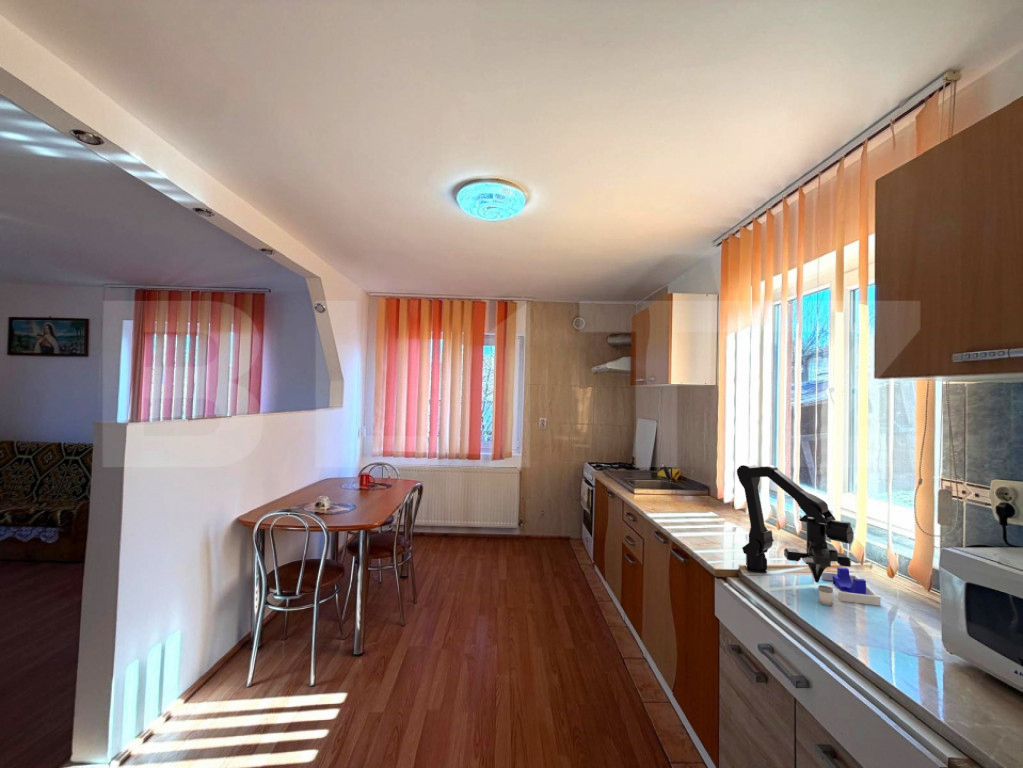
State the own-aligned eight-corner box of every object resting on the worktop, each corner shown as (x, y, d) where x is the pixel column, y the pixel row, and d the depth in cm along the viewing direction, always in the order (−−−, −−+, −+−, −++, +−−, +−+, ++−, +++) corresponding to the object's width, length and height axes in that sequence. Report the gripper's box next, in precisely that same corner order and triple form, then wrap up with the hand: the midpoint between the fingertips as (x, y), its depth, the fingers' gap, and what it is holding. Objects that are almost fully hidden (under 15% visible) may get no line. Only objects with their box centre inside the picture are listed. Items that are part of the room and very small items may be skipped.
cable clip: (832, 584, 165) (832, 566, 166) (846, 585, 165) (846, 567, 165) (850, 598, 154) (850, 579, 154) (866, 599, 153) (865, 580, 153)
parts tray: (839, 600, 151) (839, 592, 152) (821, 578, 170) (821, 571, 170) (880, 605, 148) (880, 597, 148) (857, 582, 166) (857, 575, 167)
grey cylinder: (820, 605, 148) (820, 589, 148) (817, 600, 151) (816, 584, 152) (834, 607, 147) (834, 590, 147) (830, 602, 150) (830, 586, 150)
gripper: (791, 540, 158) (791, 587, 157) (856, 546, 152) (857, 595, 151) (783, 531, 168) (783, 575, 168) (844, 536, 162) (845, 582, 162)
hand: (816, 582), depth 162 cm, fingers closed
